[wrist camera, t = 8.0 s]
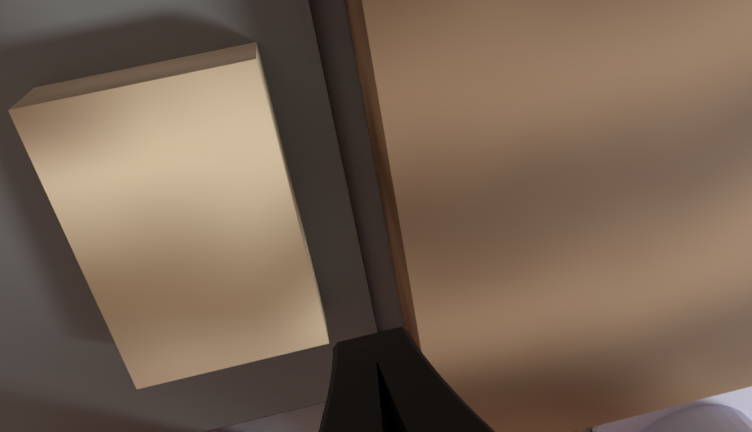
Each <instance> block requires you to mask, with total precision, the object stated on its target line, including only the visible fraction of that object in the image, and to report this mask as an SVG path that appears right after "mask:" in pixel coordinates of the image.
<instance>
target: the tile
mask: <svg viewBox="0 0 752 432" xmlns="http://www.w3.org/2000/svg"><path fill="white" fill-rule="evenodd" d="M8 112H9V114H10V116H11V118H12V120H13V122H14V125H15V127H16V129H17V131H18V133H19V135H20V138H21V140H22V142H23V144H24V146H25V148H26V151H27V153H28V155H29V157H30V159H31V161H32V164H33V166H34V168H35V170H36V172H37V174H38V177H39V179H40V181H41V183H42V185H43V187H44V190H45V192H46V194H47V196H48V198H49V200H50V203H51V205H52V207H53V209H54V211H55V213H56V216H57V218H58V220H59V222H60V224H61V226H62V229H63V231H64V233H65V235H66V237H67V239H68V242H69V244H70V246H71V248H72V250H73V252H74V255H75V257H76V259H77V261H78V263H79V265H80V268H81V270H82V272H83V274H84V276H85V278H86V281H87V283H88V285H89V287H90V289H91V292H92V294H93V296H94V298H95V300H96V302H97V305H98V307H99V309H100V311H101V313H102V315H103V318H104V320H105V322H106V324H107V326H108V328H109V331H110V333H111V335H112V337H113V339H114V341H115V344H116V346H117V348H118V350H119V352H120V354H121V357H122V359H123V361H124V363H125V365H126V367H127V370H128V372H129V374H130V376H131V378H132V380H133V383H134V385H135V387H136V389H141V388H145V387H149V386H153V385H158V384H162V383H166V382H170V381H174V380H178V379H183V378H187V377H191V376H195V375H199V374H204V373H208V372H212V371H216V370H220V369H224V368H229V367H233V366H237V365H241V364H245V363H250V362H254V361H258V360H262V359H266V358H270V357H275V356H279V355H283V354H287V353H291V352H295V351H300V350H304V349H308V348H312V347H316V346H321V345H325V344H329V338H328V332H327V325H326V319H325V313H324V306H323V302H322V298H321V295H320V291H319V287H318V283H317V279H316V275H315V271H314V267H313V263H312V259H311V255H310V251H309V247H308V243H307V239H306V235H305V231H304V227H303V223H302V220H301V216H300V212H299V208H298V204H297V200H296V196H295V192H294V188H293V184H292V180H291V176H290V172H289V168H288V164H287V160H286V156H285V152H284V148H283V145H282V141H281V137H280V133H279V129H278V125H277V121H276V117H275V113H274V109H273V105H272V101H271V97H270V93H269V89H268V85H267V81H266V77H265V73H264V70H263V66H262V62H261V58H260V54H259V50H258V46H257V42H254V43H249V44H244V45H239V46H234V47H230V48H225V49H220V50H215V51H210V52H205V53H200V54H195V55H191V56H186V57H181V58H176V59H171V60H166V61H161V62H156V63H152V64H147V65H142V66H137V67H132V68H127V69H122V70H117V71H113V72H108V73H103V74H98V75H93V76H88V77H83V78H78V79H74V80H69V81H64V82H59V83H54V84H49V85H44V86H39V87H35V88H33V89H32V90H31V91H29V92H28V93H27V94H26V95H25V96H24V97H23V98H21V99H20V100H19V101H18V102H17V103H16V104H15V105H13V106H12V107H11V108H10V109H9V110H8Z"/></svg>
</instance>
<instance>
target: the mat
mask: <svg viewBox="0 0 752 432" xmlns="http://www.w3.org/2000/svg"><path fill="white" fill-rule="evenodd" d="M254 42H257V46H258V50H259V54H260V58H261V62H262V66H263V70H264V73H265V77H266V81H267V85H268V89H269V93H270V97H271V101H272V105H273V109H274V113H275V117H276V121H277V125H278V129H279V133H280V137H281V141H282V145H283V148H284V152H285V156H286V160H287V164H288V168H289V172H290V176H291V180H292V184H293V188H294V192H295V196H296V200H297V204H298V208H299V212H300V216H301V220H302V223H303V227H304V231H305V235H306V239H307V243H308V247H309V251H310V255H311V259H312V263H313V267H314V271H315V275H316V279H317V283H318V287H319V291H320V295H321V298H322V302H323V306H324V313H325V319H326V325H327V332H328V338H329V344H325V345H321V346H316V347H312V348H308V349H304V350H300V351H295V352H291V353H287V354H283V355H279V356H275V357H270V358H266V359H262V360H258V361H254V362H250V363H245V364H241V365H237V366H233V367H229V368H224V369H220V370H216V371H212V372H208V373H204V374H199V375H195V376H191V377H187V378H183V379H178V380H174V381H170V382H166V383H162V384H158V385H153V386H149V387H145V388H141V389H136V387H135V385H134V383H133V380H132V378H131V376H130V374H129V372H128V370H127V367H126V365H125V363H124V361H123V359H122V357H121V354H120V352H119V350H118V348H117V346H116V344H115V341H114V339H113V337H112V335H111V333H110V331H109V328H108V326H107V324H106V322H105V320H104V318H103V315H102V313H101V311H100V309H99V307H98V305H97V302H96V300H95V298H94V296H93V294H92V292H91V289H90V287H89V285H88V283H87V281H86V278H85V276H84V274H83V272H82V270H81V268H80V265H79V263H78V261H77V259H76V257H75V255H74V252H73V250H72V248H71V246H70V244H69V242H68V239H67V237H66V235H65V233H64V231H63V229H62V226H61V224H60V222H59V220H58V218H57V216H56V213H55V211H54V209H53V207H52V205H51V203H50V200H49V198H48V196H47V194H46V192H45V190H44V187H43V185H42V183H41V181H40V179H39V177H38V174H37V172H36V170H35V168H34V166H33V164H32V161H31V159H30V157H29V155H28V153H27V151H26V148H25V146H24V144H23V142H22V140H21V138H20V135H19V133H18V131H17V129H16V127H15V125H14V122H13V120H12V118H11V116H10V114H9V112H8V110H9V109H10V108H11V107H12V106H13V105H15V104H16V103H17V102H18V101H19V100H20V99H21V98H23V97H24V96H25V95H26V94H27V93H28V92H29V91H31V90H32V89H33V88H35V87H39V86H44V85H49V84H54V83H59V82H64V81H69V80H74V79H78V78H83V77H88V76H93V75H98V74H103V73H108V72H113V71H117V70H122V69H127V68H132V67H137V66H142V65H147V64H152V63H156V62H161V61H166V60H171V59H176V58H181V57H186V56H191V55H195V54H200V53H205V52H210V51H215V50H220V49H225V48H230V47H234V46H239V45H244V44H249V43H254ZM374 333H378V332H377V327H376V322H375V317H374V312H373V308H372V303H371V298H370V293H369V288H368V284H367V279H366V274H365V269H364V264H363V260H362V255H361V250H360V245H359V240H358V236H357V231H356V226H355V221H354V216H353V212H352V207H351V202H350V197H349V192H348V188H347V183H346V178H345V173H344V168H343V164H342V159H341V154H340V149H339V144H338V140H337V135H336V130H335V125H334V120H333V116H332V111H331V106H330V101H329V96H328V92H327V87H326V82H325V77H324V72H323V68H322V63H321V58H320V53H319V48H318V44H317V39H316V34H315V29H314V24H313V20H312V15H311V10H310V5H309V0H0V432H205V431H209V430H213V429H217V428H221V427H225V426H229V425H234V424H238V423H242V422H246V421H250V420H254V419H258V418H262V417H266V416H270V415H274V414H278V413H282V412H286V411H291V410H295V409H299V408H303V407H307V406H311V405H315V404H319V403H323V402H326V400H327V395H328V389H329V384H330V378H331V371H332V360H333V347H334V346H335V345H336V343H337V342H340V341H344V340H349V339H353V338H357V337H361V336H365V335H370V334H374Z"/></svg>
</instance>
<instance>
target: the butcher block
mask: <svg viewBox="0 0 752 432" xmlns="http://www.w3.org/2000/svg"><path fill="white" fill-rule="evenodd" d="M345 4H346V9H347V15H348V20H349V26H350V31H351V37H352V42H353V48H354V53H355V59H356V64H357V70H358V75H359V81H360V86H361V92H362V97H363V103H364V108H365V114H366V119H367V125H368V130H369V136H370V141H371V146H372V152H373V157H374V163H375V168H376V174H377V179H378V185H379V190H380V196H381V201H382V207H383V212H384V218H385V223H386V229H387V234H388V240H389V245H390V251H391V256H392V262H393V267H394V273H395V278H396V284H397V289H398V295H399V300H400V306H401V311H402V317H403V322H404V328H405V329H406V330H408V331H409V333H410V335H411V337H412V338H413V340H414V341H415V343H416V345H417V346H418V347H419V349H420V350H421V352H422V353H423V354H424V356H425V357H426V358H427V360H428V361H429V362H430V363H431V365H432V366H433V367H434V368H435V370H436V371H437V372H438V373H439V374H440V376H441V377H442V378H443V379H444V380H445V381H446V382H447V383H448V385H449V386H450V387H451V388H452V389H453V390H454V391H455V392H456V393H457V394H458V395H459V397H460V398H461V399H462V400H463V401H464V402H465V403H466V404H467V405H468V406H469V407H470V408H471V409H472V410H473V411H474V412H475V413H476V414H477V415H478V416H479V417H480V418H481V419H482V420H483V421H484V422H485V423H486V424H488V425H489V426H490V427H491V428H492V429H493V430H494V431H495V432H575V431H579V430H583V429H587V428H590V427H594V426H598V425H602V424H606V423H610V422H614V421H618V420H622V419H626V418H630V417H633V416H637V415H641V414H645V413H649V412H653V411H657V410H661V409H665V408H669V407H673V406H677V405H680V404H684V403H688V402H692V401H696V400H700V399H704V398H708V397H712V396H716V395H720V394H723V393H727V392H731V391H735V390H739V389H743V388H747V387H751V386H752V0H345Z"/></svg>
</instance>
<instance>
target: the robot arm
mask: <svg viewBox="0 0 752 432" xmlns="http://www.w3.org/2000/svg"><path fill="white" fill-rule="evenodd" d="M319 432H495V431H494V430H493V429H492V428H491V427H490V426H489V425H488V424H486V423H485V422H484V421H483V420H482V419H481V418H480V417H479V416H478V415H477V414H476V413H475V412H474V411H473V410H472V409H471V408H470V407H469V406H468V405H467V404H466V403H465V402H464V401H463V400H462V399H461V398H460V397H459V395H458V394H457V393H456V392H455V391H454V390H453V389H452V388H451V387H450V386H449V385H448V383H447V382H446V381H445V380H444V379H443V378H442V377H441V376H440V374H439V373H438V372H437V371H436V370H435V368H434V367H433V366H432V365H431V363H430V362H429V361H428V360H427V358H426V357H425V356H424V354H423V353H422V352H421V350H420V349H419V347H418V346H417V345H416V343H415V341H414V340H413V338H412V337H411V335H410V333H409V331H408V330H406V329H404V328H403V327H399V328H395V329H391V330H386V331H382V332H378V333H374V334H370V335H365V336H361V337H357V338H353V339H349V340H344V341H340V342H337V343H336V345H335V346H334V347H333V360H332V371H331V378H330V384H329V389H328V395H327V400H326V404H325V408H324V412H323V416H322V421H321V425H320V429H319ZM592 432H752V386H751V387H747V388H743V389H739V390H735V391H731V392H727V393H723V394H720V395H716V396H712V397H708V398H704V399H700V400H696V401H692V402H688V403H684V404H680V405H677V406H673V407H669V408H665V409H661V410H657V411H653V412H649V413H645V414H641V415H637V416H633V417H630V418H626V419H622V420H618V421H614V422H610V423H606V424H602V425H598V426H594V427H592Z"/></svg>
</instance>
